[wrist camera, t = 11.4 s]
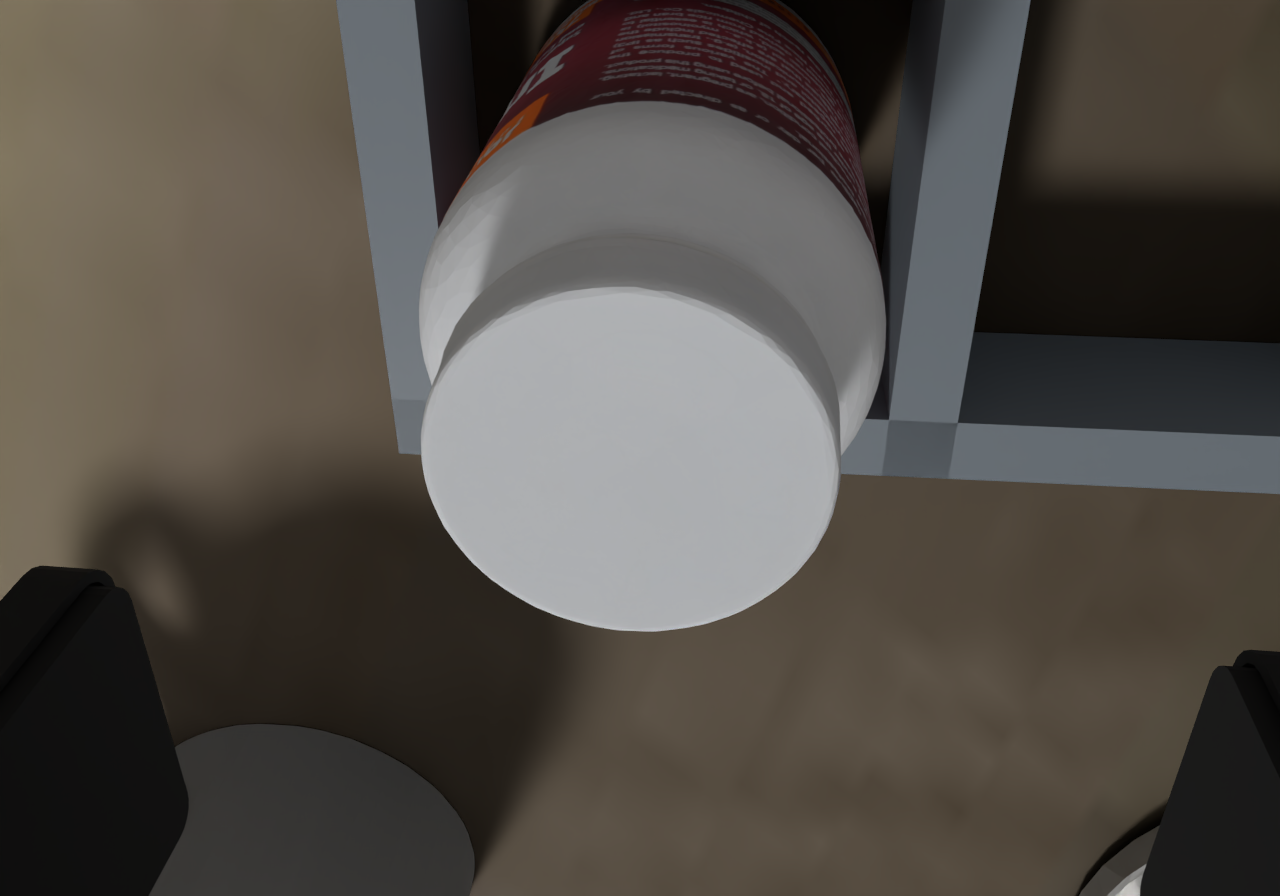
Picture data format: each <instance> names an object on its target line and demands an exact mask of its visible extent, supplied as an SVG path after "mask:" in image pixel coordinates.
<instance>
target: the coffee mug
mask: <svg viewBox="0 0 1280 896" xmlns="http://www.w3.org/2000/svg"><path fill="white" fill-rule="evenodd" d="M175 750H176V754H177V757H178V761H179V764H180V768H181V771H182V774H183V778H184V781H185V785H186V788H187V791H188V798H189V810H188V816H187V821H186V824H185V828H184V830H183V833H182V835H181V837H180V839H179V841H178V843H177V845H176V846H175V848H174V850H173V852H172V854H171V856H170V857H169V859H168V861H167V863H166V865H165V867H164V868H163V870H162V872H161V874H160V876H159V878H158V879H157V881H156V883H155V885H154V887H153V889H152V890H151V892H150V894H149V896H469V895H470V891H471V887H472V882H473V878H474V870H475V858H474V851H473V848H472V844H471V841H470V838H469V834H468V832H467V830H466V828H465V825H464V823H463V822H462V820H461V818H460V817H459V815H458V814H457V812H456V811H455V810H454V808H453V807H452V806H451V805H450V804H449V802H448V801H447V800H446V799H445V798H444V796H443V795H442V794H441V793H440V792H439V791H438V790H437V789H436V788H435V787H434V786H433V785H432V784H430V783H429V782H428V781H426V780H425V779H424V778H422V777H421V776H420V775H418V774H417V773H416V772H414V771H413V770H412V769H410V768H409V767H408V766H406V765H404V764H402V763H401V762H399V761H397V760H395V759H394V758H392V757H390V756H388V755H386V754H384V753H383V752H381V751H379V750H376V749H374V748H372V747H369V746H367V745H365V744H362V743H360V742H357V741H355V740H353V739H350V738H347V737H343V736H340V735H336V734H333V733H329V732H325V731H322V730H317V729H312V728H306V727H300V726H289V725H273V724H248V725H236V726H231V727H225V728H221V729H216V730H213V731H209V732H206V733H203V734H200V735H197V736H195V737H193V738H190V739H188V740H186V741H184V742H182V743H181V744H179V745H177V746H176V747H175Z"/></svg>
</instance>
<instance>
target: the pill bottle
mask: <svg viewBox="0 0 1280 896" xmlns="http://www.w3.org/2000/svg"><path fill="white" fill-rule="evenodd" d="M419 329H420V340H421V346H422V352H423V357H424V362H425V365H426V368H427V372H428V375H429V378H430V381H431V385H432V387H431V390H430V393H429V396H428V399H427V402H426V406H425V410H424V415H423V422H422V429H421V456H422V466H423V472H424V477H425V482H426V485H427V489H428V492H429V495H430V497H431V500H432V502H433V505H434V507H435V509H436V511H437V513H438V516H439V518H440V520H441V522H442V524H443V526H444V527H445V529H446V530H447V531H448V533H449V534H450V536H451V537H452V539H453V540H454V541H455V543H456V544H457V545H458V546H459V548H460V549H461V550H462V551H463V553H464V554H465V555H466V556H467V557H468V558H469V560H470V561H471V562H472V563H473V564H474V565H475V566H477V567H478V568H479V569H480V570H481V571H482V572H483V573H484V574H485V575H486V576H488V577H489V578H490V579H491V580H493V581H494V582H495V583H497V584H498V585H500V586H501V587H502V588H504V589H505V590H507V591H508V592H510V593H511V594H513V595H515V596H516V597H518V598H520V599H522V600H523V601H525V602H527V603H529V604H531V605H532V606H534V607H536V608H539V609H541V610H544V611H546V612H548V613H551V614H553V615H556V616H559V617H562V618H565V619H568V620H571V621H575V622H578V623H582V624H586V625H590V626H595V627H600V628H606V629H613V630H626V631H654V632H655V631H664V630H672V629H680V628H688V627H693V626H697V625H702V624H707V623H710V622H713V621H716V620H719V619H722V618H725V617H728V616H731V615H733V614H736V613H738V612H740V611H742V610H744V609H746V608H748V607H750V606H752V605H754V604H755V603H757V602H759V601H761V600H762V599H764V598H765V597H767V596H768V595H770V594H771V593H773V592H774V591H776V590H777V589H778V588H779V587H781V586H782V585H783V584H784V583H786V582H787V581H788V580H789V579H790V578H791V577H792V576H794V575H795V574H796V573H797V572H798V570H799V569H800V568H801V567H802V566H803V564H804V563H805V562H806V561H807V560H808V558H809V557H810V556H811V555H812V553H813V552H814V551H815V549H816V548H817V546H818V544H819V542H820V540H821V539H822V537H823V535H824V533H825V531H826V530H827V527H828V525H829V522H830V519H831V517H832V514H833V511H834V507H835V503H836V499H837V495H838V491H839V485H840V479H841V455H842V454H843V453H844V452H845V450H846V449H847V447H848V446H849V445H850V443H851V442H852V440H853V439H854V438H855V436H856V434H857V433H858V431H859V429H860V427H861V425H862V424H863V422H864V420H865V418H866V416H867V414H868V412H869V409H870V407H871V405H872V402H873V399H874V396H875V393H876V390H877V387H878V384H879V380H880V376H881V371H882V367H883V361H884V354H885V340H886V314H885V299H884V290H883V281H882V274H881V269H880V264H879V260H878V256H877V250H876V244H875V238H874V233H873V227H872V222H871V217H870V211H869V206H868V200H867V194H866V188H865V182H864V177H863V170H862V165H861V159H860V151H859V146H858V141H857V137H856V132H855V126H854V120H853V115H852V110H851V106H850V102H849V99H848V95H847V92H846V90H845V87H844V84H843V82H842V79H841V76H840V74H839V72H838V69H837V67H836V65H835V63H834V61H833V59H832V57H831V56H830V54H829V52H828V50H827V49H826V47H825V46H824V44H823V43H822V41H821V40H820V39H819V37H818V36H817V34H816V33H815V32H814V31H813V30H812V29H811V28H810V26H809V25H808V24H807V23H806V22H805V21H804V20H803V19H802V18H801V17H800V16H799V15H798V14H796V13H795V12H794V11H793V10H792V9H791V8H790V7H788V6H787V5H785V4H784V3H783V2H781V1H780V0H588V1H587V2H585V3H584V4H583V5H581V6H580V7H579V8H578V9H576V10H575V11H574V12H573V13H572V14H571V15H570V16H569V17H568V18H567V19H566V20H564V21H563V22H562V23H561V25H560V26H559V27H558V28H557V29H556V30H555V31H554V33H553V34H552V35H551V37H550V38H549V39H548V40H547V41H546V43H545V44H544V46H543V47H542V48H541V50H540V51H539V53H538V54H537V56H536V58H535V59H534V61H533V63H532V65H531V66H530V68H529V70H528V72H527V73H526V75H525V77H524V79H523V81H522V83H521V84H520V86H519V88H518V90H517V92H516V93H515V95H514V97H513V99H512V100H511V102H510V103H509V106H508V107H507V109H506V111H505V113H504V115H503V117H502V118H501V120H500V122H499V123H498V125H497V127H496V128H495V130H494V132H493V134H492V135H491V137H490V138H489V140H488V142H487V144H486V146H485V148H484V149H483V151H482V153H481V154H480V156H479V158H478V159H477V161H476V163H475V165H474V166H473V168H472V170H471V171H470V173H469V175H468V176H467V178H466V180H465V181H464V183H463V184H462V186H461V188H460V189H459V191H458V193H457V195H456V196H455V198H454V200H453V202H452V203H451V205H450V207H449V209H448V211H447V212H446V214H445V216H444V219H443V221H442V223H441V225H440V227H439V229H438V231H437V233H436V235H435V237H434V240H433V242H432V245H431V248H430V251H429V254H428V257H427V261H426V264H425V268H424V272H423V277H422V282H421V288H420V299H419Z"/></svg>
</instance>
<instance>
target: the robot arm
mask: <svg viewBox="0 0 1280 896" xmlns="http://www.w3.org/2000/svg"><path fill="white" fill-rule="evenodd" d="M188 810H189V798H188V791H187V788H186V785H185V781H184V778H183V774H182V771H181V768H180V764H179V761H178V757H177V754H176V750H175V747H174V744H173V740H172V737H171V733H170V730H169V726H168V723H167V720H166V716H165V713H164V709H163V706H162V703H161V699H160V696H159V692H158V689H157V685H156V682H155V679H154V675H153V672H152V668H151V665H150V661H149V658H148V655H147V651H146V648H145V644H144V641H143V638H142V634H141V631H140V627H139V624H138V620H137V617H136V614H135V610H134V607H133V603H132V600H131V598H130V596H129V593H128V592H127V591H126V590H125V589H123V588H119V587H115V585H114V582H113V580H112V578H111V577H110V576H109V575H108V574H107V573H106V572H105V571H101V570H96V569H81V568H67V567H53V566H38V567H35V568H32V569H30V570H29V571H28V572H27V573H26V574H24V575H23V576H22V577H21V578H20V580H19V581H18V582H17V583H16V584H15V585H14V586H13V587H12V589H11V590H10V591H9V592H8V593H7V594H6V595H5V596H4V597H3V599H2V600H1V601H0V896H149V894H150V892H151V890H152V889H153V887H154V885H155V883H156V881H157V879H158V878H159V876H160V874H161V872H162V870H163V868H164V867H165V865H166V863H167V861H168V859H169V857H170V856H171V854H172V852H173V850H174V848H175V846H176V845H177V843H178V841H179V839H180V837H181V835H182V833H183V830H184V828H185V824H186V821H187V816H188ZM1079 896H1280V652H1274V651H1259V650H1246V651H1243V652H1242V653H1241V654H1240V655H1239V656H1238V657H1237V659H1236V661H1235V663H1234V665H1233V666H1218V667H1217V668H1216V669H1215V670H1214V671H1213V673H1212V676H1211V678H1210V680H1209V683H1208V686H1207V689H1206V692H1205V695H1204V698H1203V701H1202V704H1201V707H1200V710H1199V712H1198V715H1197V718H1196V721H1195V724H1194V727H1193V730H1192V733H1191V736H1190V739H1189V742H1188V745H1187V747H1186V750H1185V753H1184V756H1183V759H1182V762H1181V765H1180V768H1179V771H1178V774H1177V777H1176V780H1175V782H1174V785H1173V788H1172V791H1171V794H1170V797H1169V800H1168V803H1167V806H1166V809H1165V812H1164V815H1163V817H1162V820H1161V823H1160V825H1159V826H1157V827H1156V828H1154V829H1152V830H1151V831H1149V832H1147V833H1145V834H1144V835H1142V836H1140V837H1138V838H1137V839H1135V840H1134V841H1132V842H1131V843H1130V844H1129V845H1127V846H1126V847H1125V848H1124V849H1122V850H1121V851H1120V852H1119V853H1118V854H1116V855H1115V856H1114V857H1113V858H1111V859H1110V860H1109V861H1108V862H1106V863H1105V864H1104V865H1103V866H1102V867H1101V868H1100V870H1099V871H1098V872H1097V873H1096V874H1095V876H1094V877H1093V878H1092V879H1091V880H1090V882H1089V883H1088V884H1087V885H1086V886H1085V888H1084V889H1083V890H1082V891H1081V893H1080V895H1079Z"/></svg>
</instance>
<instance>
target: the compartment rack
mask: <svg viewBox="0 0 1280 896" xmlns="http://www.w3.org/2000/svg"><path fill="white" fill-rule="evenodd" d="M1030 1H1031V0H913V1H912V9H911V18H910V26H909V35H908V43H907V51H906V60H905V68H904V76H903V85H902V93H901V101H900V110H899V118H898V126H897V135H896V143H895V152H894V160H893V168H892V177H891V185H890V193H889V202H888V210H887V218H886V227H885V235H884V243H883V252H882V260H881V274H882V281H883V290H884V299H885V314H886V340H885V354H884V361H883V367H882V371H881V376H880V380H879V384H878V387H877V390H876V393H875V396H874V399H873V402H872V405H871V407H870V409H869V412H868V414H867V416H866V418H865V420H864V422H863V424H862V425H861V427H860V429H859V431H858V433H857V434H856V436H855V438H854V439H853V440H852V442H851V443H850V445H849V446H848V447H847V449H846V450H845V452H844V453H843V454H842V455H841V474H858V475H880V476H901V477H923V478H945V479H967V480H988V481H1010V482H1032V483H1054V484H1076V485H1097V486H1119V487H1141V488H1163V489H1184V490H1206V491H1228V492H1250V493H1271V494H1280V343H1255V342H1228V341H1201V340H1174V339H1147V338H1120V337H1093V336H1066V335H1039V334H1012V333H985V332H973V331H974V326H975V320H976V314H977V308H978V302H979V297H980V291H981V285H982V279H983V273H984V268H985V262H986V256H987V250H988V244H989V239H990V233H991V227H992V221H993V216H994V210H995V204H996V198H997V192H998V187H999V181H1000V175H1001V169H1002V163H1003V158H1004V152H1005V146H1006V140H1007V134H1008V129H1009V123H1010V117H1011V111H1012V106H1013V100H1014V94H1015V88H1016V82H1017V77H1018V71H1019V65H1020V59H1021V53H1022V48H1023V42H1024V36H1025V30H1026V24H1027V19H1028V13H1029V7H1030ZM336 2H337V10H338V17H339V24H340V31H341V38H342V45H343V53H344V60H345V67H346V74H347V81H348V89H349V96H350V103H351V110H352V117H353V125H354V132H355V139H356V146H357V153H358V160H359V168H360V175H361V182H362V189H363V196H364V204H365V211H366V218H367V225H368V232H369V240H370V247H371V254H372V261H373V268H374V275H375V283H376V290H377V297H378V304H379V311H380V319H381V326H382V333H383V340H384V347H385V355H386V362H387V369H388V376H389V383H390V390H391V398H392V405H393V412H394V419H395V426H396V434H397V441H398V448H399V453H401V454H421V429H422V422H423V415H424V410H425V406H426V402H427V399H428V396H429V393H430V390H431V387H432V385H431V381H430V378H429V375H428V372H427V368H426V365H425V362H424V357H423V352H422V346H421V340H420V329H419V299H420V288H421V282H422V277H423V272H424V268H425V264H426V261H427V257H428V254H429V251H430V248H431V245H432V242H433V240H434V237H435V235H436V233H437V231H438V229H439V227H440V225H441V223H442V221H443V219H444V216H445V214H446V212H447V211H448V209H449V207H450V205H451V203H452V202H453V200H454V198H455V196H456V195H457V193H458V191H459V189H460V188H461V186H462V184H463V183H464V181H465V180H466V178H467V176H468V175H469V173H470V171H471V170H472V168H473V166H474V165H475V163H476V161H477V159H478V158H479V156H480V151H479V138H478V126H477V113H476V101H475V88H474V76H473V63H472V51H471V39H470V26H469V14H468V1H467V0H336Z"/></svg>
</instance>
